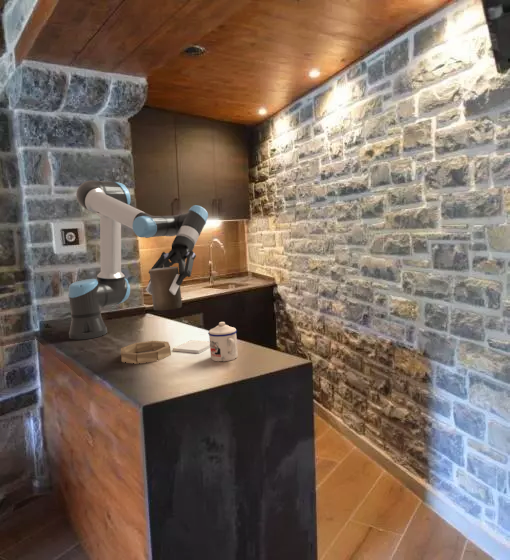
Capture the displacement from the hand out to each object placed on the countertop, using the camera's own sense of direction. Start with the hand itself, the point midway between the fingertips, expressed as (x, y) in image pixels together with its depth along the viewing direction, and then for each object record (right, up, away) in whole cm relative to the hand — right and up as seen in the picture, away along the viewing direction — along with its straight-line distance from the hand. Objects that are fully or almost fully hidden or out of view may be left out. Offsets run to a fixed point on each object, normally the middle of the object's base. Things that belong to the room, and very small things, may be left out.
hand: (160, 292), depth 144 cm
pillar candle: (+2, -6, +3) cm, 7 cm away
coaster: (+10, -20, +9) cm, 24 cm away
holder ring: (-5, -22, +3) cm, 23 cm away
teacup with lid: (+23, -21, -6) cm, 32 cm away
